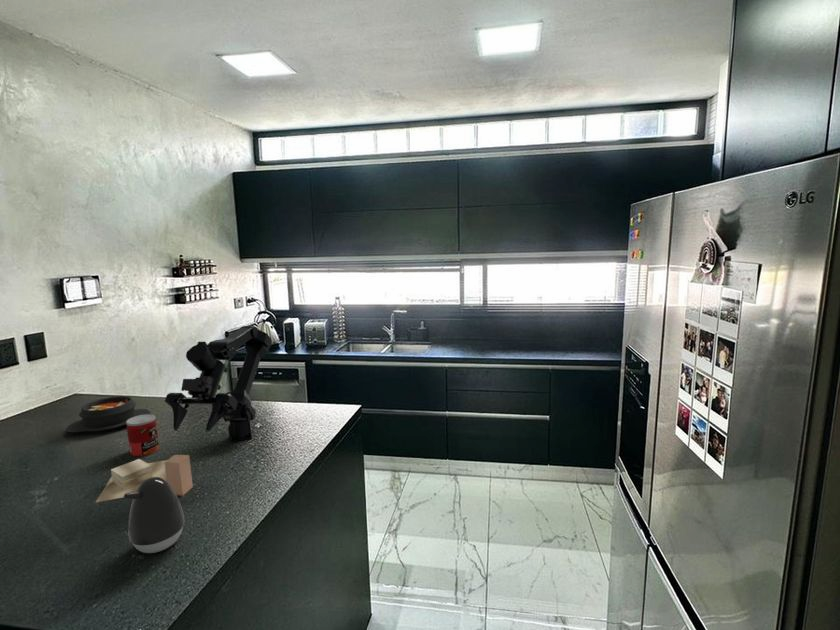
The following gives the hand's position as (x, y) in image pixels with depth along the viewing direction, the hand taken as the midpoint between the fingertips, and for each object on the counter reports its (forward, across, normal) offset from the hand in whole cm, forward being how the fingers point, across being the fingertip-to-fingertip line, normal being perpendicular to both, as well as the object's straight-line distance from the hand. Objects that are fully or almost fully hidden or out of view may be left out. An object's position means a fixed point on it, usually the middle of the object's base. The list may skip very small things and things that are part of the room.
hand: (191, 430), depth 119 cm
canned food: (0, -25, +19) cm, 32 cm away
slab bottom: (+12, -16, +7) cm, 21 cm away
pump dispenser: (+29, +8, -9) cm, 32 cm away
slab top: (+10, -16, +6) cm, 20 cm away
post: (+15, +1, +4) cm, 16 cm away
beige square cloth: (+11, -13, +8) cm, 19 cm away
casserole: (-14, -54, +33) cm, 64 cm away
